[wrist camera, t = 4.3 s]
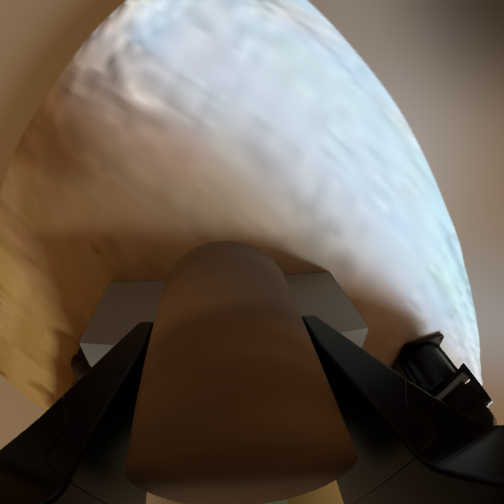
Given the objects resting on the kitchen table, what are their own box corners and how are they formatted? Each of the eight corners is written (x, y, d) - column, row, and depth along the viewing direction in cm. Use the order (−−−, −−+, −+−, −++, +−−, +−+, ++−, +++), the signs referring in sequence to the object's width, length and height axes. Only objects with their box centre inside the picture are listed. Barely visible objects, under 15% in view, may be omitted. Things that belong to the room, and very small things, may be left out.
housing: (329, 271, 20) (368, 327, 14) (302, 398, 27) (318, 447, 21) (110, 281, 18) (78, 342, 12) (155, 407, 25) (150, 458, 19)
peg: (292, 239, 8) (394, 416, 3) (281, 340, 10) (326, 492, 4) (156, 243, 8) (84, 435, 2) (173, 344, 9) (159, 504, 4)
